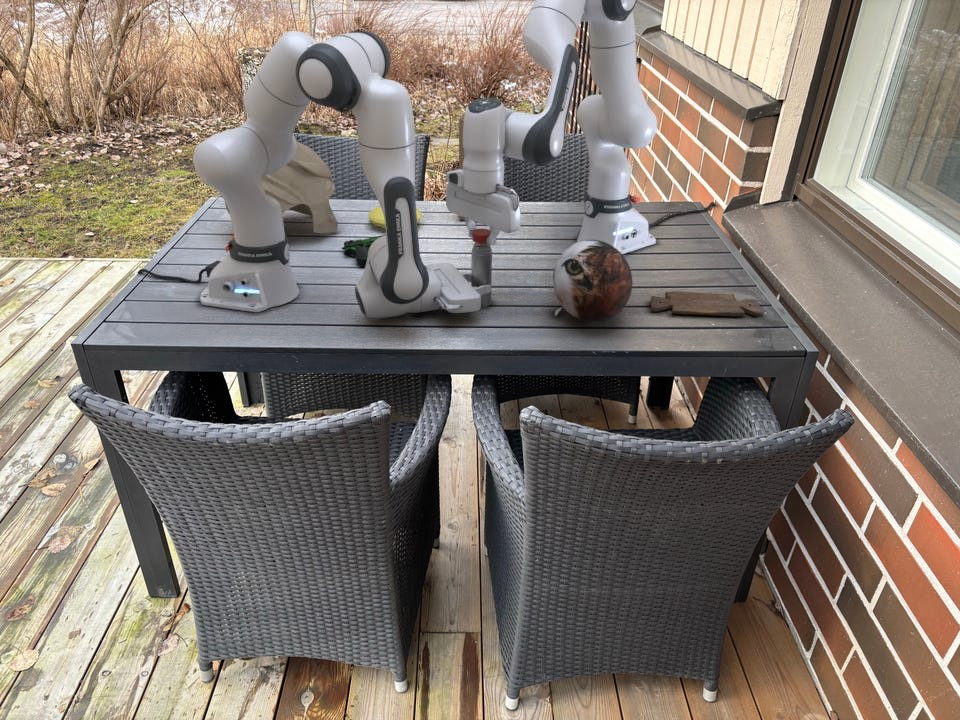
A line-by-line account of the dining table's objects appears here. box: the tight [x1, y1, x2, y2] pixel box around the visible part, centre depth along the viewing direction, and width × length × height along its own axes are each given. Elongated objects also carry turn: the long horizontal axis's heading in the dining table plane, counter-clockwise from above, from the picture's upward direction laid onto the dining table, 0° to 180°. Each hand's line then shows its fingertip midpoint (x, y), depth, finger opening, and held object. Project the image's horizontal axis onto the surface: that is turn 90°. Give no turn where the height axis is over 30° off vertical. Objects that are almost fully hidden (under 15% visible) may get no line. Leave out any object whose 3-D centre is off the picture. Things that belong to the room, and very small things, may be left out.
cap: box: [471, 228, 492, 243], centre depth 159 cm, size 4×4×2 cm
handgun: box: [341, 234, 385, 268], centre depth 192 cm, size 16×3×15 cm
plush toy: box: [552, 240, 633, 323], centre depth 159 cm, size 22×18×20 cm
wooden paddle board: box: [650, 291, 765, 317], centre depth 167 cm, size 26×2×10 cm
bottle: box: [470, 242, 493, 309], centre depth 163 cm, size 5×5×17 cm
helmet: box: [224, 123, 339, 234], centre depth 198 cm, size 27×30×30 cm
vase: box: [367, 205, 423, 229], centre depth 210 cm, size 16×16×7 cm
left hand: (484, 282), depth 165 cm, fingers closed on bottle, 5 cm apart
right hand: (482, 240), depth 160 cm, fingers closed on cap, 4 cm apart
